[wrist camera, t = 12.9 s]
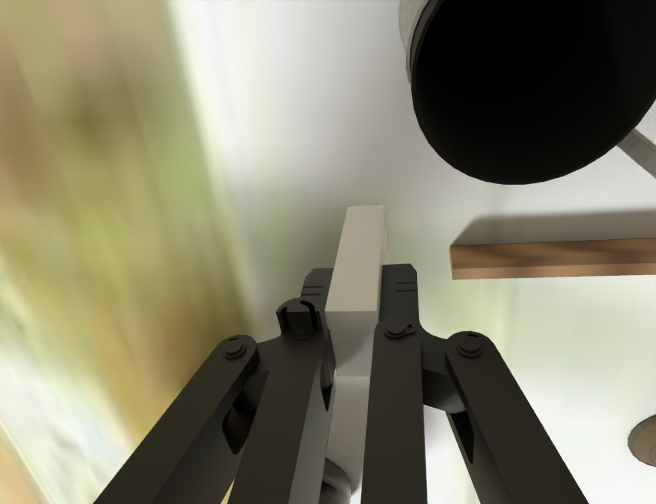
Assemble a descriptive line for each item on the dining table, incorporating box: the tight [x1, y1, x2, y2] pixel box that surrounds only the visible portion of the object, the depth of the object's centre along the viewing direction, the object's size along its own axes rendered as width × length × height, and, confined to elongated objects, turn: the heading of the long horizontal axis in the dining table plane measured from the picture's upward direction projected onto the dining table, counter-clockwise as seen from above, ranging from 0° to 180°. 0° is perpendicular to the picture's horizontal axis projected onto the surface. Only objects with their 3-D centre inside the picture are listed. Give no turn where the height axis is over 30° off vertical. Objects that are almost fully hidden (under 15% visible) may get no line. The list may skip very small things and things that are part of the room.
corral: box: [450, 238, 656, 280], centre depth 25 cm, size 22×24×3 cm
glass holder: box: [399, 0, 656, 185], centre depth 20 cm, size 9×14×15 cm, turn 59°
